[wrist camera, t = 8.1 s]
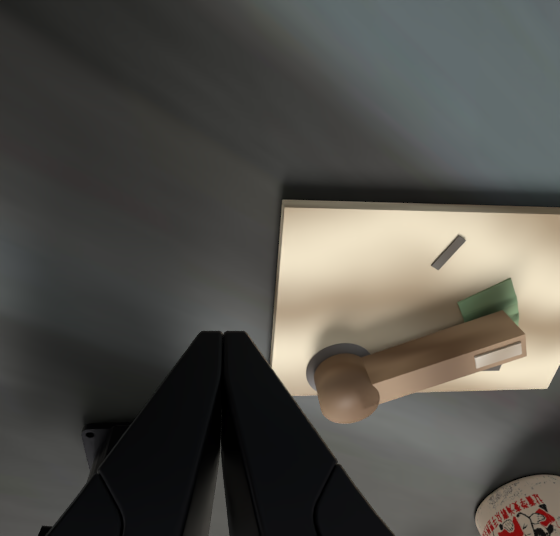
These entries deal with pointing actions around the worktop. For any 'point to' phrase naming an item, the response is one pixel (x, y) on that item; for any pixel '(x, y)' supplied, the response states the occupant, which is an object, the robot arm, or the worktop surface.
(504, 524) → the teacup with lid
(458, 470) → the worktop surface
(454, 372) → the walnut lever
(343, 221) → the dial plate
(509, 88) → the worktop surface
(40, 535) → the robot arm
